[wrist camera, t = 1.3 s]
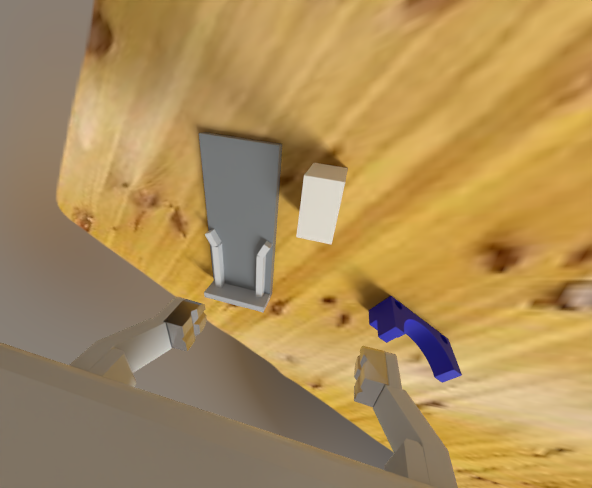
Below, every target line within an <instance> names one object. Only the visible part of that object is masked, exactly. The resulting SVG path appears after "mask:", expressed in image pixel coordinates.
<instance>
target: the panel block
mask: <svg viewBox="0 0 592 488" xmlns="http://www.w3.org/2000/svg"><path fill="white" fill-rule="evenodd" d="M347 170H348V168H344V167H338V166H332V165H326V164H320V163H313V165H312V166H311V167H310V168H309V170H308V171H307V172H306V173H305V175H304V180H303V188H302V196H301V204H300V212H299V221H298V229H297V237H299V238H303V239H308V240H313V241H318V242H323V243H327V244H332V240H333V235H334V231H335V226H336V222H337V217H338V212H339V208H340V203H341V199H342V194H343V189H344V185H345V180H346V175H347Z"/></svg>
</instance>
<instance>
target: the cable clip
mask: <svg viewBox="0 0 592 488" xmlns="http://www.w3.org/2000/svg"><path fill="white" fill-rule="evenodd" d="M369 324H370V325H371V326H372V327H374V328H375V329H376V330H378V337H379V338H381V339H382V340H384V341H385V342H386V343H387V342H389V341H391V340H393V339H394V338H396V337H400V336H402V335H404V334H407V335H408V336H409V337H410V338H411V339H412V340H413V341H414V342H415V343H416V344H417V345H418V347H419V348H420V349H421V351H422V352H423V354H424V355H425V357H426V359H427V360H428V362H429V364H430V366H431V369H432V371H433V374H434V377H435V378H436V379H438V380H439V381H441V382H445V381H448V380H450V379H453V378H456V377H459V376H461V375H462V374H461V371H460V369H459V366H458V364H457V361H456V358H455V356H454V353H453V350H452V348H451V345H450V342H449V340H448V339H447V338H446V337H445V336H443V335H442V334H441V333H439V332H438V331H437V330H436V329H434V328H433V327H432V326H430V325H429V324H428V323H426V322H425V321H424V320H422V319H421V318H420V317H418V316H417V315H416V314H414V313H413V312H412V311H410V310H409V309H408V308H407V307H405V306H404V305H403V304H401V303H400V302H399V301H397V300H396V299H395V298H393V297H392V296H390V297H388V298H387V299H385V300H384V301H382V302H381V303H379V304H378V305H376V306H375V307H373V308H372V309H370V310H369Z"/></svg>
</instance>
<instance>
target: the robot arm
mask: <svg viewBox="0 0 592 488" xmlns="http://www.w3.org/2000/svg"><path fill="white" fill-rule="evenodd" d="M204 310H205V305H204V304H201V303H198V302H194V301H191V300H188V299H184V298H180V297H176V298H174V299H173V300H172V301H171V302H170V303H169V304H168V305H167V306H166V307H165V308H164V309H163V310H162V311H161V312H160V313H159V314H158V315H157V316H156V317H155V318H154V319H148V320H146V321H143V322H141V323H138V324H136V325H134V326H131V327H129V328H127V329H124V330H122V331H119V332H117V333H115V334H113V335H110V336H108V337H105V338H103V339H101V340H98V341H96V342H95V343H94V344H93V345H92V346H90V347H89V348H88V349H87V350H86V351H85V352H84V353H82V354H81V355H80V356H79V357H78V358H77V359H76V360H74V361H73V362H72V363H71V364H70V365H66V364H63V363H60V362H57V361H54V360H51V359H48V358H45V357H42V356H39V355H36V354H33V353H30V352H27V351H24V350H21V349H18V348H15V347H12V346H10V345H7V344H4V343H0V488H458V487H457V483H456V479H455V475H454V472H453V468H452V464H451V460H450V457H449V453H448V450H447V448H446V447H445V446H444V444H443V443H442V441H441V440H440V439H439V437H438V436H437V434H436V433H435V431H434V430H433V429H432V427H431V426H430V424H429V423H428V422H427V420H426V419H425V417H424V416H423V415H422V413H421V412H420V410H419V409H418V407H417V406H416V405H415V403H414V402H413V400H412V399H411V398H410V396H409V395H408V393H407V392H406V391H405V390H402V386H401V379H400V373H399V367H398V361H397V356H396V355H395V354H392V353H388V352H385V351H382V350H378V349H374V348H370V347H366V346H362V347H361V349H360V356H358V357H357V360H356V364H355V375H354V377H355V379H356V380H357V381H356V383H355V386H354V401H355V402H358V403H362V404H365V405H368V406H371V407H373V410H374V412H375V414H376V416H377V418H378V420H379V422H380V424H381V426H382V428H383V430H384V433H385V435H386V437H387V439H388V441H389V443H390V445H391V447H392V449H393V451H394V455H393V456H392V457H391V458H390V459H389V461H388V462H387V463H386V465H385V470H382V469H379V468H376V467H373V466H370V465H367V464H364V463H361V462H358V461H355V460H352V459H349V458H346V457H343V456H340V455H337V454H334V453H331V452H328V451H325V450H322V449H319V448H316V447H313V446H310V445H307V444H304V443H301V442H298V441H295V440H292V439H289V438H286V437H283V436H280V435H277V434H274V433H271V432H268V431H265V430H262V429H259V428H255V427H253V426H250V425H247V424H243V423H241V422H238V421H235V420H232V419H229V418H226V417H223V416H220V415H217V414H214V413H211V412H208V411H205V410H202V409H199V408H195V407H193V406H190V405H187V404H184V403H181V402H178V401H175V400H172V399H169V398H166V397H163V396H160V395H157V394H154V393H151V392H148V391H145V390H142V389H139V388H136V387H134V386H135V385H136V379H135V377H134V375H133V373H134V372H135V371H136V370H138V369H140V368H141V367H143V366H144V365H146V364H148V363H149V362H151V361H152V360H154V359H156V358H157V357H159V356H160V355H162V354H163V353H165V352H167V351H168V350H170V349H171V348H172V347H173V348H176V349H180V350H184V351H188V350H189V348H190V347H191V345H192V344H193V342H194V341H195V336H196V335H198V334H200V333H201V331H202V330H203V329H204V326H205V324H206V315H205V313H204Z"/></svg>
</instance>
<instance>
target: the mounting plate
mask: <svg viewBox="0 0 592 488" xmlns="http://www.w3.org/2000/svg"><path fill="white" fill-rule="evenodd" d="M199 140H200V150H201V160H202V169H203V179H204V189H205V199H206V208H207V218H208V228H209V231H208V232H207V233H206V234H205V236H206V238H207V239H208V241H209V243H210V248H211V257H212V267H213V277H214V281H213V282H212V284H211V285H210V286H209V287H208V288H207V290H206V291H205V292H204V295H205V297H207V298H211V299H214V300H218V301H222V302H226V303H230V304H234V305H237V306H241V307H245V308H249V309H253V310H257V311H261V312H264V310H265V308H266V306H267V304H268V301H269V299H270V297H271V295H272V286H273V271H274V257H275V243H276V228H277V214H278V200H279V185H280V171H281V157H282V144H278V143H272V142H265V141H259V140H252V139H246V138H239V137H233V136H226V135H220V134H213V133H207V132H202V133H199Z"/></svg>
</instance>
